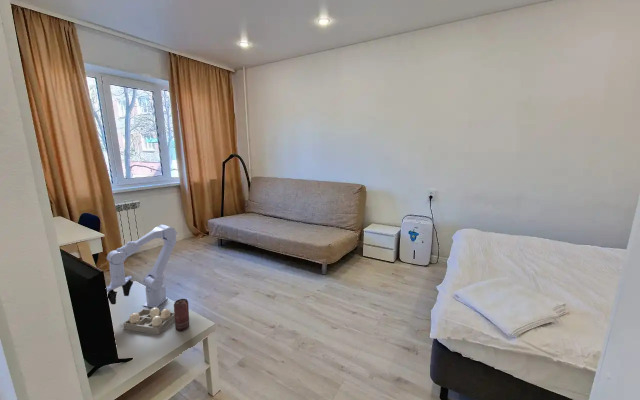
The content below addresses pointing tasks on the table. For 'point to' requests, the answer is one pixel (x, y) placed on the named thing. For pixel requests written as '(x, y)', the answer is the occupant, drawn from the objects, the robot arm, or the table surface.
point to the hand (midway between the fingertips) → (120, 299)
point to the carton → (148, 323)
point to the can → (181, 315)
